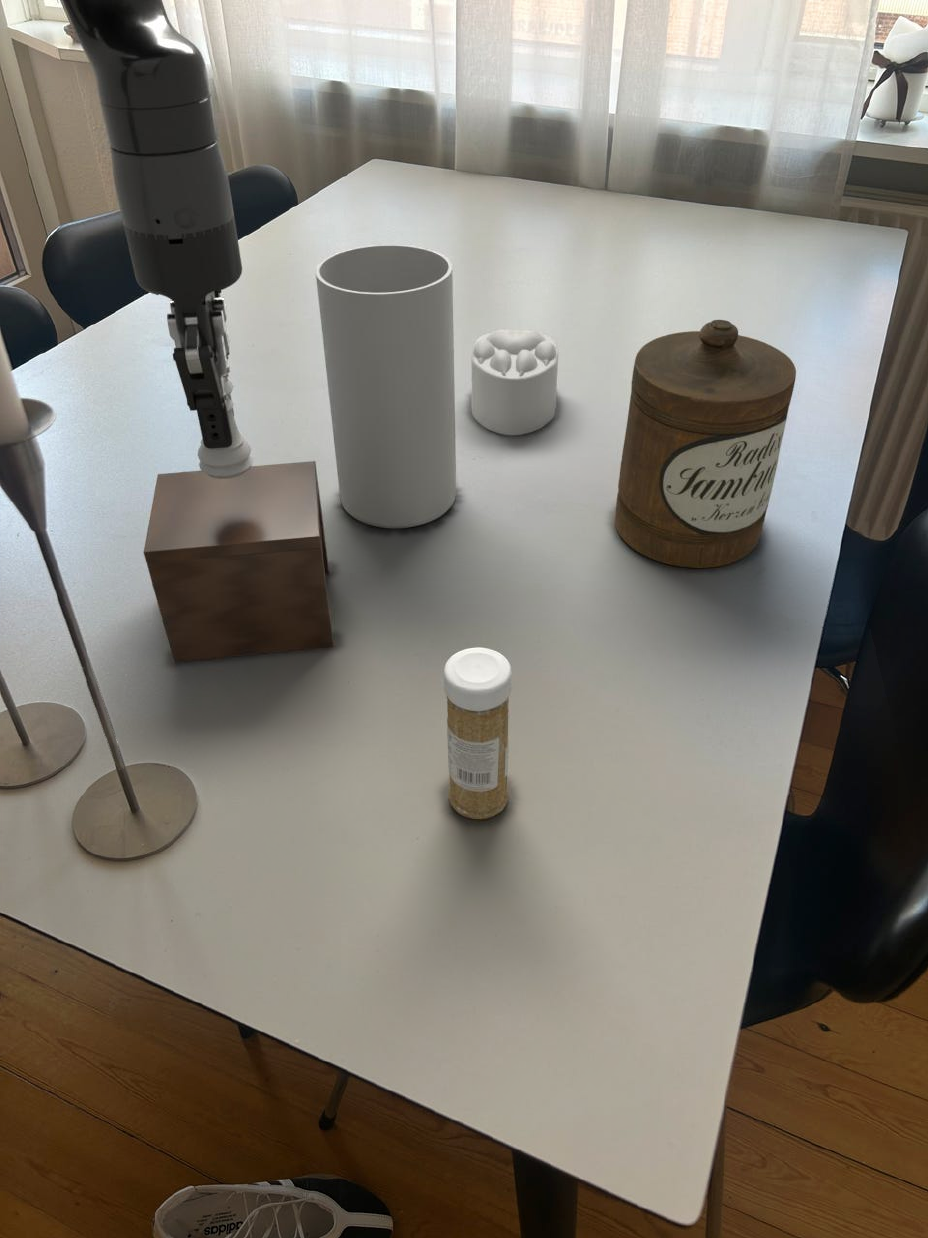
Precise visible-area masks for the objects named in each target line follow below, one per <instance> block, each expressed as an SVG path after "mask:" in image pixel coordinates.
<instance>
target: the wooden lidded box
mask: <svg viewBox="0 0 928 1238" xmlns="http://www.w3.org/2000/svg"><path fill="white" fill-rule="evenodd" d="M317 471H318V470H317V463H316V461H315V460H312V461H300V462H298V461H297V462H288V463H276V464H263V465H251V467H250V469H249V470H248V471H246V472H245V473H244V474H242V475H240V476H237V477H234V478H229V479H217V478H213V477H210V476H208V475H207V474H205V473H204V472H203V471H202V470H194V471H193V470H191V471H190V470H189V471H180V472H166V473H157V476H156V481H155V486H154V487H155V488H154V492H153V498H152V504H151V508H150V509H151V510H150V514H149V520H148V525H147V531H146V537H145V542H144V547H143V555H144V556H143V557H144V560H145V563H146V567H147V571H148V573H149V578H150V581H151V584H152V588H153V591H154V597H155V600H156V603H157V606H158V610H159V613H160V617H161V621H162V624H163V628H164V632H165V635H166V639H167V643H168V647H169V650H170V654H171V657H172V661H173V663H182V662H183V663H185V662H192V661H203V660H211V659H220V658H230V657H231V658H232V657H241V656H251V655H260V654H270V653H280V652H289V651H298V650H307V649H308V650H309V649H317V648H328V647H334V645H335V644H334V642H335V641H334V633H333V625H332V618H331V617H332V616H331V608H330V602H329V593H328V586H327V577H326V575H327V574H328V575H329V574H330V567H329V559H328V551H327V543H326V536H325V527H324V518H323V512H322V511H323V510H322V502H321V495H320V487H319V478H318V472H317Z"/></svg>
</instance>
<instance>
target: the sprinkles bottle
mask: <svg viewBox="0 0 928 1238" xmlns="http://www.w3.org/2000/svg"><path fill="white" fill-rule="evenodd" d="M512 675H513V674H512V666H511V664H510V662H509V661H508V659H507V658H506V657H505V656H504V655H503V654H502V653H500V652H499V651H496V650H493V649H491V648H486V647H469V648H465V649H461V650H459V651H458V652H456V653H454V654H453V655H452V656H450V657H449V658H448V660H447V661H446V663H445V665H444V669H443V690H444V694H445V696H446V699H447V700H446V704H447V705H446V707H447V708H446V709H447V710H446V711H447V720H446V727H447V728H446V730H447V731H446V732H447V733H446V735H447V761H448V762H447V763H448V773H449V774H448V775H449V790H448V800H449V803H450V805H451V807H452V808H453V809H454V811H456V812H457V813H458V814H459V815H460V816H463V817H464V818H468V819H472V820H485V819H490V818H493V817H494V816H496V815H498V814H500V813H501V812H502V811H503V810H504V809H505V807H506V806H507V804H508V799H509V789H508V773H509V760H510V759H509V758H510V757H509V755H510V754H509V752H510V751H509V750H510V742H509V741H510V740H509V711H510V710H509V698H510V695H511V692H512V688H513V685H512V684H513V676H512Z"/></svg>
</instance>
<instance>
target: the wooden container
mask: <svg viewBox="0 0 928 1238" xmlns="http://www.w3.org/2000/svg"><path fill="white" fill-rule="evenodd" d="M791 359H792V358H790V357H789V356H788V355H786V354H785V353H784V352H783V351H781V350H780V349H778V348H776V347H774V346H773V345H771V344H768V343H766V342H764V341H761V340H759V339H756V338H752V337H750V336H749V337H748V336H744V335H740V334H739V329H738V327H737V326H736V325H734V324H733V323H731V322H730V321H728V320H725V319H714V320H712V321H710V322H707V323H705V324H704V325H703V326H702V327H701V329H700V330H690V331H680V332H674V333H670V334H669V333H668V334H666V335H662V336H659V337H656V338H654V339H652V340H650V341H648V342H647V343H645V344H644V345H642V347H641V348H640V349H639V350H638V352H637V353H636V356H635V359H634V364H633V369H632V377H631V391H630V397H629V406H628V413H627V420H626V427H625V434H624V439H623V440H624V441H623V446H622V453H621V461H620V467H619V468H620V469H619V476H618V483H617V489H618V491H617V495H616V504H615V512H614V524H615V529H616V531H617V532H618V534H619V536H620V537H621V539H622V540H623V541H624V542H625V544H627V545H628V546H629V547H630V548H632V549H633V550H634V551H636V552H637V553H639V554H641V555H643V556H644V557H647V558H648V559H652V560H654V561H656V562H660V563H663V564H667V565H671V566H675V567H681V568H691V569H692V568H693V569H705V568H706V569H707V568H716V567H722V566H727V565H730V564H733V563H734V562H738V561H740V560H742V559H743V558H745V557H747V556H748V555H749V554H750V553H752V552H753V550H754V549H755V548H756V546H757V545H758V543H759V541H760V538H761V534H762V531H763V527H764V523H765V519H766V515H767V510H768V507H769V502H770V500H771V495H772V491H773V487H774V482H775V477H776V472H777V468H778V465H779V464H778V462H779V458H780V452H781V447H782V442H783V438H784V433H785V429H786V424H787V420H788V419H787V418H788V413H789V407H790V404H791V402H792V397H793V392H794V388H795V383H796V378H797V377H796V376H797V368H796V366H795V364H794V363H793V360H791Z"/></svg>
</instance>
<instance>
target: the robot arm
mask: <svg viewBox="0 0 928 1238" xmlns="http://www.w3.org/2000/svg"><path fill="white" fill-rule="evenodd" d="M61 1H62V3H63V7H64V8H65V11H66V14H67V16H68V19H69V20H70V23H71V25H72V28H73V30H74V33H75V35H76V37H77V39H78V42H79V44H80V45H81V47H82V50H83V52H84V53H85V56H86V58H87V61H88V62H89V65H90V67H91V70H92V72H93V74H94V78H95V83H96V88H97V94H98V99H99V105H100V108H101V114H102V118H103V121H104V123H103V124H104V128H105V131H106V132H105V133H106V135H107V140H108V145H109V149H110V157H111V164H112V176H113V182H114V189H115V194H116V197H117V202H118V207H119V211H120V216H121V220H122V224H123V228H124V233H125V237H126V242H127V246H128V251H129V255H130V259H131V263H132V268H133V272H134V273H133V274H134V277H135V281H136V283H137V284H138V286H139V287H140V288H141V289H143V290H144V291H146V292H148V293H150V294H152V295H156V296H159V295H160V296H163V297H166V298H168V299H170V300H169V308H170V313H167V314H166V320H167V326H168V332H169V336H170V338H171V339H172V340H173V341H174V347H173V353H172V359H173V361H174V362H175V366H176V368H177V373H178V375H179V376H178V377H179V379H180V382H181V385H182V388H183V392H184V395H185V399H186V405H187V407H189V411H190V412H193V411H194V412H195V411H196V414H197V418H198V423H199V424H198V425H199V428H200V433H201V437H202V438H203V443H204V446H205V447H206V448H209V449H214V448H226V447H230V446H231V445H232V432H231V427H230V421H229V416H228V410H227V405H226V400H228V398H227V393H225V388H224V381H223V375H224V374H225V373H226V375H227V379H228V380H229V377H230V372H231V368H230V365H228V360H229V356H230V337H229V332H228V327H227V317H228V316H227V315H228V314H227V311H228V310H227V305H226V301H225V300H226V299H225V297H224V296H221V294H222V291H223V290H225V289H227V288H229V287H231V286H233V285H234V284H235V283H236V282H238V281H239V280H240V278H241V276H242V274H243V264H242V258H241V251H240V245H239V238H238V231H237V226H236V219H235V213H234V206H233V201H232V194H231V187H230V179H229V176H228V175H229V174H228V170H227V167H226V163H225V160H224V157H223V153H222V149H221V145H220V140H219V135H218V128H217V121H216V116H215V108H214V104H213V103H214V102H213V97H212V90H211V84H210V78H209V73H208V69H207V64H206V62H205V59H204V57H203V54H202V52H201V51H200V49H199V48H198V47H197V45H195V43H193V42H192V41H191V40H189V39H188V38H186V37H185V36H184V35H183V34H181V33H179V32H178V31H177V30H176V29H175V27H174V26H173V25H172V23H171V22H170V20H169V16H168V14H167V12H166V8H165V5H164V2H163V0H61ZM230 400H232V401H233V399H232V393H231V394H230ZM232 410H233V416H234V417H235V410H234V407H233V408H232ZM202 438H201V439H202Z"/></svg>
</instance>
